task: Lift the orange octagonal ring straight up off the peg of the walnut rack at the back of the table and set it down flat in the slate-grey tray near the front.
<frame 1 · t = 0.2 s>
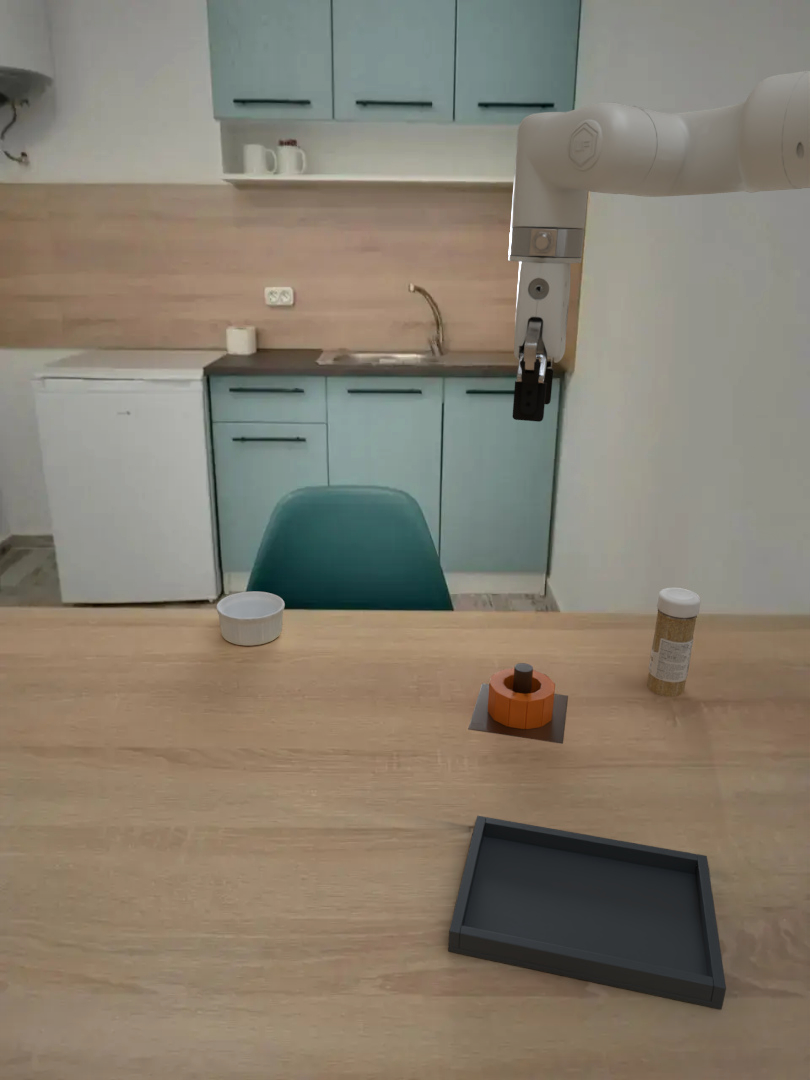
hand: (532, 411, 92), 33 cm above the table, tool pointing down, fingers open, 9 cm apart
tray: (583, 910, 67), on the table
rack: (519, 723, 92), on the table
ramekin: (252, 634, 111), on the table
orange octagonal ring: (520, 711, 91), point 1 cm above the table, touching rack
sprinkles bottle: (663, 699, 98), on the table
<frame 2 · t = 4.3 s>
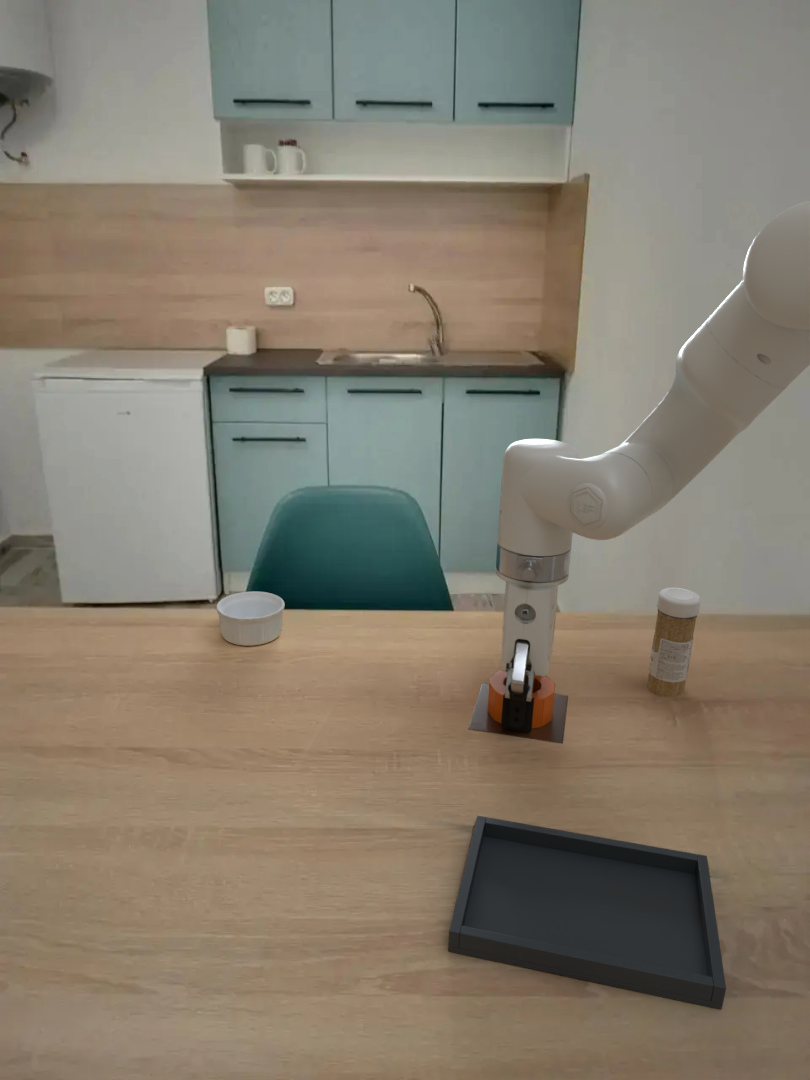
hand: (520, 709, 91), 2 cm above the table, tool pointing down, fingers closed on orange octagonal ring, 7 cm apart
orange octagonal ring: (520, 711, 91), point 2 cm above the table, touching gripper, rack
everything else where it was.
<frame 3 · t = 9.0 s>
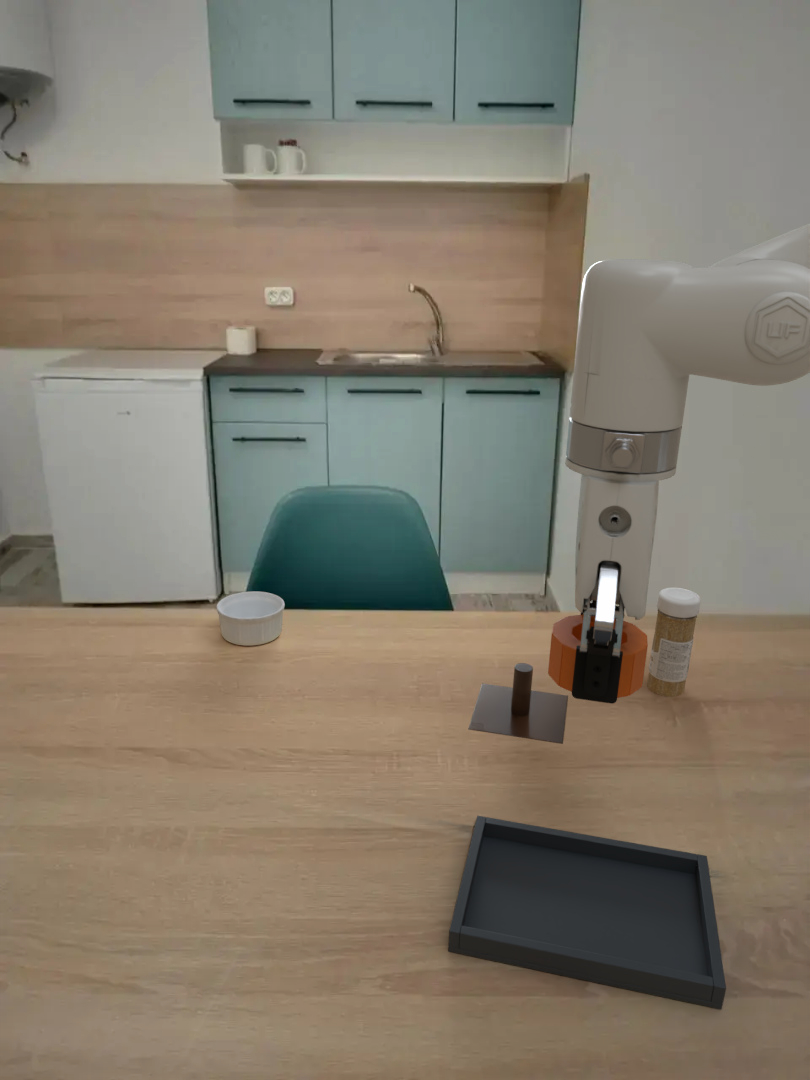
hand: (595, 671, 64), 20 cm above the table, tool pointing down, fingers closed on orange octagonal ring, 7 cm apart
orange octagonal ring: (594, 675, 64), point 19 cm above the table, touching gripper
everything else where it was.
when the fingers open (1 cm above the table, at t = 14.0 s): orange octagonal ring stays where it is, resting on tray.
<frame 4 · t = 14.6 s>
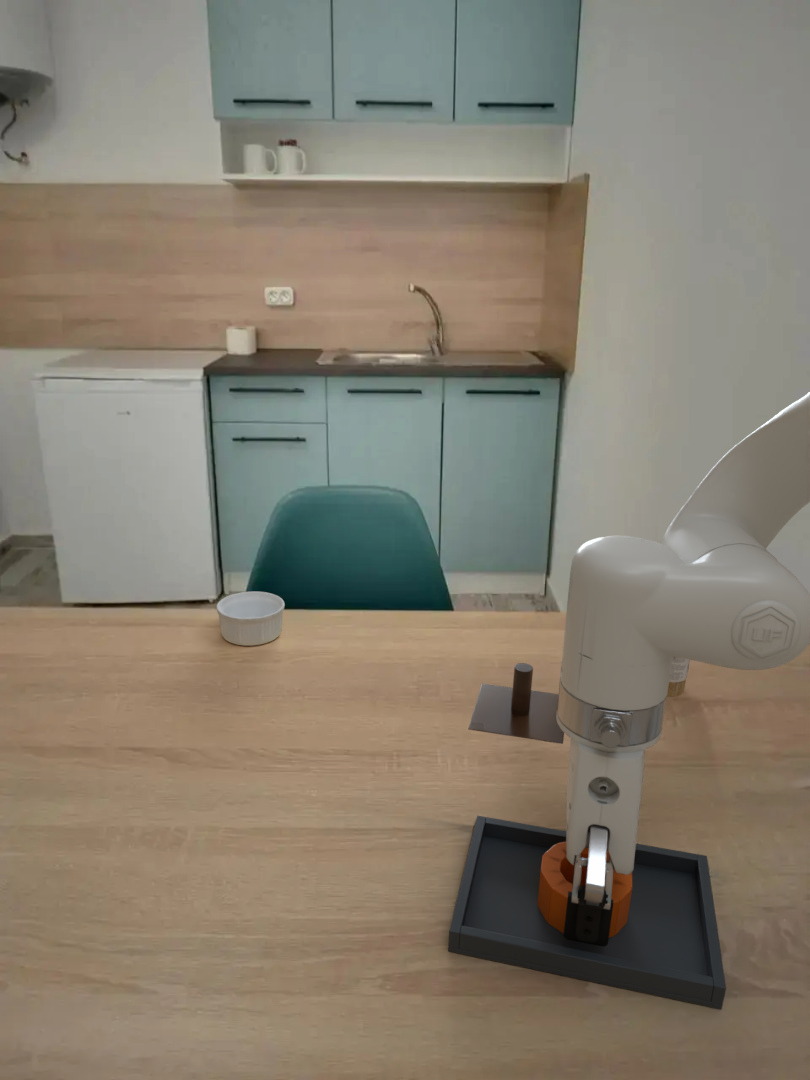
hand: (587, 892, 66), 2 cm above the table, tool pointing down, fingers open, 9 cm apart
orange octagonal ring: (582, 905, 66), resting on tray
everything else where it was.
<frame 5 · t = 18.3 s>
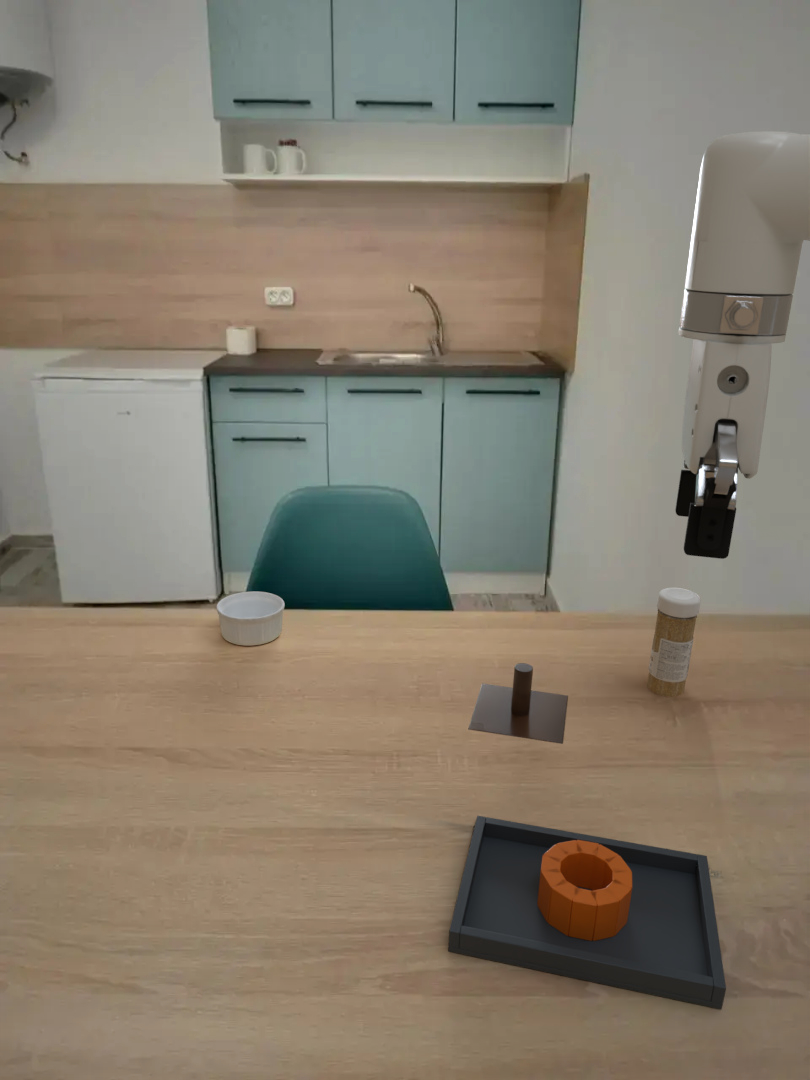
hand: (699, 534, 67), 28 cm above the table, tool pointing down, fingers open, 9 cm apart
nothing on the table moved.
at the end: orange octagonal ring inside the target area in the tray (0.2 cm from its centre), point 0.5 cm above the tray's base; orange octagonal ring tilted 0°; the gripper is holding nothing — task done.
